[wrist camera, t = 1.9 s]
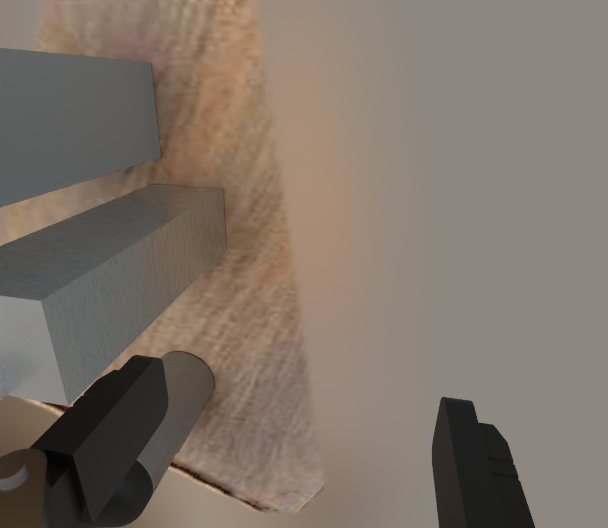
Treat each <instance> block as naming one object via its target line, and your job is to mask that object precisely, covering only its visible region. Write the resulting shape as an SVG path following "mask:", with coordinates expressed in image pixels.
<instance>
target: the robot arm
mask: <svg viewBox="0 0 608 528" xmlns="http://www.w3.org/2000/svg"><path fill="white" fill-rule="evenodd" d="M213 389H214V379H213V376H212V373H211V371H210V370H209V368H208V367H207V366H206V365H205V364H204V363H203V362H202V361H201V360H200V359H198V358H197V357H195V356H193V355H190V354H188V353H184V352H171V353H168V354H165V355H164V356H163V357H161V358H155V357H147V356H140V355H134V356H133V357H131V358H130V359H129V360H128V361H127V362H126V363H125V365H124V366H123V367H122V368H121V369H120V370H113V371H112V372H110V373H108V374H106V375H105V376H103V377H101V378H100V379H98V380H97V381H96V382H95V383H94V384H93V385H92V386H91V387H90V388H89V389H88V390H87V391H86V392H85V393H84V395H83V396H81V397H80V398H79V399H78V400H77V401H76V402H75V403H74V404H73V407H70V408H69V409H68V410H67V411H66V412H65V413H64V414H63V415H62V416H61V417H60V418H59V419H58V420H57V421H56V422H55V423H54V424H53V425H52V426H51V427H50V428H49V429H48V430H47V431H46V432H45V433H44V434H43V435H42V436H41V437H40V438H39V439H38V440H37V441H36V442H35V443H34V444H33V445H32V446H31V447H30V448H26V449H20V450H16V451H13V452H10V453H8V454H5V455H3V456H1V457H0V528H101V527H103V528H104V527H111V528H112V527H121V526H124V525H127V524H130V523H131V522H133V521H134V520H136V519H137V518H138V517H139V516H140V515H141V513H142V512H143V510H144V509H145V507H146V505H147V504H148V502H149V500H150V498H151V497H152V495H153V493H154V491H155V490H156V488H157V486H158V485H159V483H160V481H161V479H162V478H163V476H164V474H165V472H166V471H167V469H168V467H169V465H170V464H171V462H172V460H173V459H174V457H175V455H176V454H177V453H178V452H179V451H180V449H181V447H182V446H183V444H184V442H185V440H186V439H187V437H188V435H189V433H190V432H191V430H192V428H193V427H194V425H195V423H196V421H197V420H198V418H199V416H200V414H201V413H202V411H203V409H204V408H205V406H206V402H207V400H208V399H209V397H210V395H211V393H212V391H213ZM432 466H433V475H434V484H435V493H436V502H437V511H438V520H439V528H535V526H534V523H533V519H532V516H531V513H530V511H529V507H528V504H527V501H526V498H525V495H524V492H523V489H522V486H521V483H520V481H519V480H518V474H517V471H516V468H515V465H513V458H512V455H511V452H510V449H509V446H508V443H507V441H506V440H505V439H504V438H503V436H502V435H501V434H500V433H499V431H498V430H497V429H496V428H495V426H494V425H490V424H484V423H478V420H477V416H476V412H475V408H474V405H473V402H472V401H468V400H461V399H454V398H446V397H442V398H441V401H440V406H439V411H438V417H437V421H436V427H435V432H434V437H433V444H432Z"/></svg>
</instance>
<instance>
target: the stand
mask: <svg viewBox="0 0 608 528" xmlns="http://www.w3.org/2000/svg"><path fill="white" fill-rule="evenodd" d="M158 158H161V150H160V141H159V132H158V122H157V113H156V104H155V95H154V86H153V77H152V68H151V63H148V62H137V61H127V60H117V59H107V58H97V57H87V56H77V55H67V54H57V53H47V52H37V51H27V50H16V49H6V48H0V207H3V206H7V205H10V204H13V203H16V202H19V201H23V200H26V199H29V198H32V197H36V196H39V195H42V194H45V193H48V192H52V191H55V190H58V189H61V188H65V187H68V186H71V185H74V184H78V183H81V182H84V181H87V180H90V179H94V178H97V177H100V176H103V175H107V174H110V173H113V172H116V171H119V170H123V169H126V168H129V167H132V166H136V165H139V164H142V163H145V162H149V161H152V160H155V159H158Z"/></svg>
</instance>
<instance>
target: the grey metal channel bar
mask: <svg viewBox="0 0 608 528" xmlns="http://www.w3.org/2000/svg"><path fill="white" fill-rule="evenodd" d="M225 250H226V230H225V211H224V191H223V189H217V188H203V187H190V186H177V185H163V184H151V185H149V186H146V187H144V188H141V189H139V190H136V191H134V192H131V193H129V194H127V195H124V196H122V197H119V198H117V199H114V200H112V201H109V202H107V203H105V204H102V205H100V206H97V207H95V208H92V209H90V210H87V211H85V212H83V213H80V214H78V215H75V216H73V217H70V218H68V219H65V220H63V221H61V222H58V223H56V224H53V225H51V226H48V227H46V228H43V229H41V230H39V231H36V232H34V233H31V234H29V235H26V236H24V237H21V238H19V239H17V240H14V241H12V242H9V243H7V244H4V245H2V246H0V401H1V400H2V399H3V398H4V397H6V396H7V395H9V396H14V397H19V398H25V399H31V400H36V401H42V402H48V403H53V404H59V405H65V406H69V405H70V404H71V403H72V402H73V401H74V400H75V399H76V398H77V397H78V396H79V395H80V394H81V393H82V392H83V391H84V390H85V389H86V388H87V387H88V386H89V385H90V384H91V383H92V382H93V381H94V380H95V379H96V378H97V377H98V376H99V375H100V374H101V373H102V372H103V371H104V370H105V369H106V368H107V367H108V366H109V365H110V364H111V363H112V362H113V361H114V360H115V359H116V358H117V357H118V356H119V355H120V354H121V353H122V352H123V351H124V350H125V349H126V348H127V347H128V346H129V345H130V344H131V343H132V342H133V341H134V340H135V339H136V338H137V337H138V336H139V335H140V334H141V333H142V332H143V331H144V330H146V329H147V328H148V327H149V326H150V325H151V324H152V323H153V322H154V321H155V320H156V319H157V318H158V317H159V316H160V315H161V314H162V313H163V312H164V311H165V310H166V309H167V308H168V307H169V306H170V305H171V304H172V303H173V302H174V301H175V300H176V299H177V298H178V297H179V296H180V295H181V294H182V293H183V292H184V291H185V290H186V289H187V288H188V287H189V286H190V285H191V284H192V283H193V282H194V281H195V280H196V279H197V278H198V277H199V276H200V275H201V274H202V273H203V272H204V271H205V270H206V269H207V268H208V267H209V266H210V265H211V264H212V263H213V262H214V261H215V260H216V259H217V258H218V257H219V256H220V255H221V254H222V253H223V252H224V251H225Z"/></svg>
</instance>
